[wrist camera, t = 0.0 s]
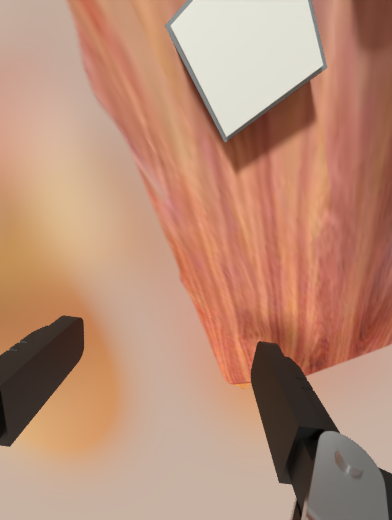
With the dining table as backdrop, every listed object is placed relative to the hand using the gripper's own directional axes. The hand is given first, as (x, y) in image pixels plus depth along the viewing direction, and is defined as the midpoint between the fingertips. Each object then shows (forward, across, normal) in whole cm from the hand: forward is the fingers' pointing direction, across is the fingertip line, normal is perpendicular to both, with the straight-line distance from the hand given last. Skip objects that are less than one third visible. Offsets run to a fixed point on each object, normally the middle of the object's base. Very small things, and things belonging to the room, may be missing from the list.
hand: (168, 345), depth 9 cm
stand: (+24, -3, -26) cm, 35 cm away
